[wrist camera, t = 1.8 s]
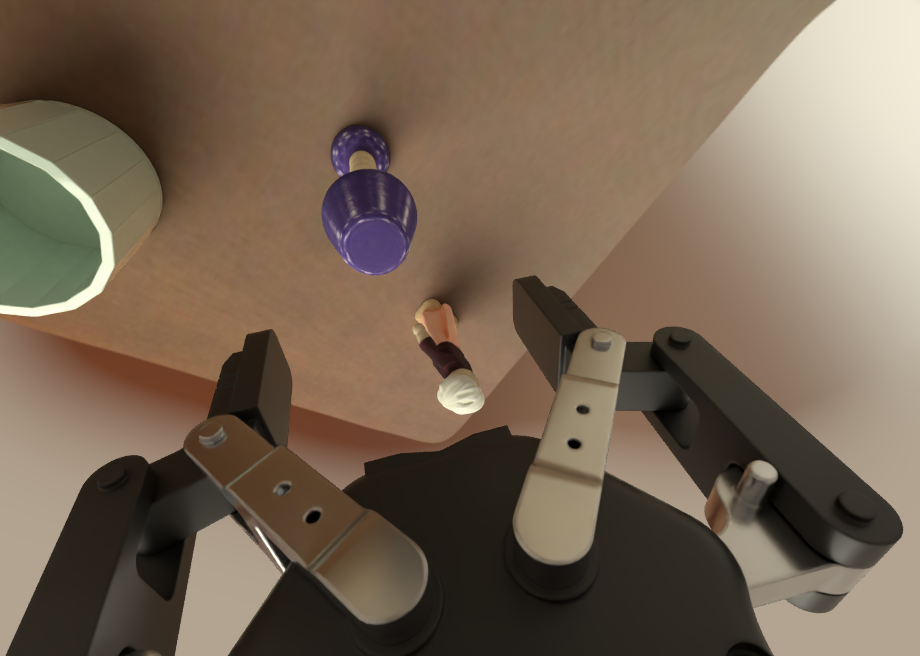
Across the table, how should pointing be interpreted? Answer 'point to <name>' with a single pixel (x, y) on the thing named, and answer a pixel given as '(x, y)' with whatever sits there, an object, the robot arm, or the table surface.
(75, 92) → the table surface
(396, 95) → the table surface
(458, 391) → the grandmother figurine
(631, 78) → the table surface
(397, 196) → the toy lamp
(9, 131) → the glazed cup
